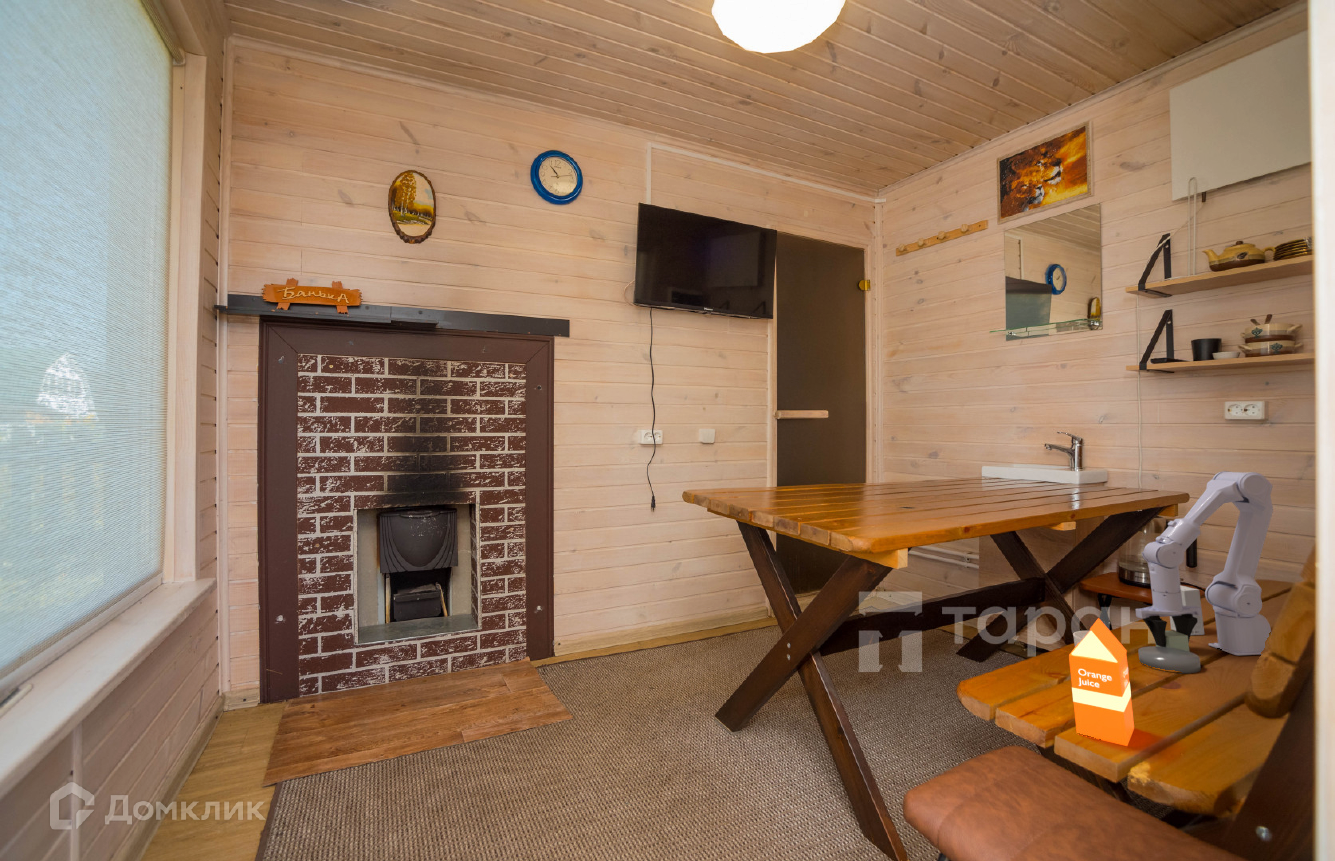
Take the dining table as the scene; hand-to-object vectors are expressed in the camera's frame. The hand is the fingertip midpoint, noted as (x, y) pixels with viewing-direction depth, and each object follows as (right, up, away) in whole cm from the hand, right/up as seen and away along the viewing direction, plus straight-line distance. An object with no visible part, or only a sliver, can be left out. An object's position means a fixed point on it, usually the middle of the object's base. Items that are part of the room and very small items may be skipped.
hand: (1172, 645), depth 145 cm
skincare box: (+15, -1, +13) cm, 20 cm away
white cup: (-29, -3, -14) cm, 32 cm away
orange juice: (-44, -3, -36) cm, 57 cm away
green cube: (0, -2, 0) cm, 2 cm away
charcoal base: (-8, -2, -8) cm, 11 cm away
